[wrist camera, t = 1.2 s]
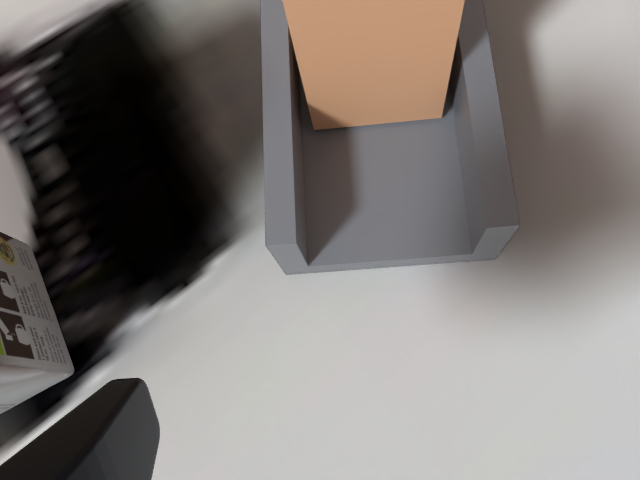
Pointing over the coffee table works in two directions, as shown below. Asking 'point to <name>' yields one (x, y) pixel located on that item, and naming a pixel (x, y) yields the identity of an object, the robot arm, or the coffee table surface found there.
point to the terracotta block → (373, 58)
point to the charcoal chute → (385, 168)
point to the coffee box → (27, 328)
